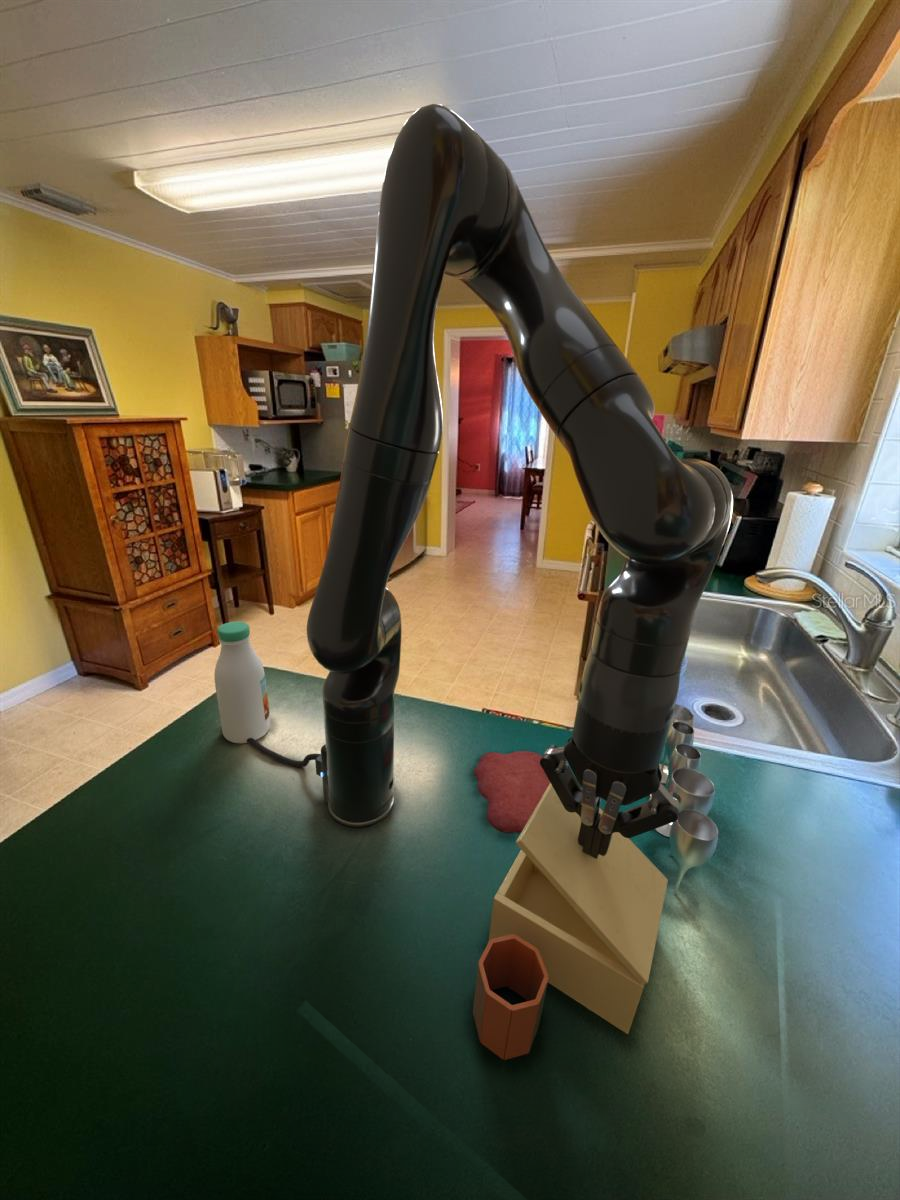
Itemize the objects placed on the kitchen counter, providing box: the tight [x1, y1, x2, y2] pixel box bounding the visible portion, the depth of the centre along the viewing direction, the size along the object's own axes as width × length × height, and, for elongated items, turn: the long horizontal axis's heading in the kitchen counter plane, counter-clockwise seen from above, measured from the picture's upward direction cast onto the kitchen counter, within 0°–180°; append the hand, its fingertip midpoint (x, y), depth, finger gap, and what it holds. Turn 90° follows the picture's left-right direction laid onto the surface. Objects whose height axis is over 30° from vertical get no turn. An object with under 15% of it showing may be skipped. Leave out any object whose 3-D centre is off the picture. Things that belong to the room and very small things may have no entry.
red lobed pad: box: [473, 750, 550, 834], centre depth 71 cm, size 18×14×2 cm
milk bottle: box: [214, 621, 271, 744], centre depth 78 cm, size 8×8×20 cm
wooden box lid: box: [515, 783, 669, 985], centre depth 47 cm, size 16×12×1 cm
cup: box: [472, 934, 549, 1061], centre depth 43 cm, size 6×6×8 cm
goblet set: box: [649, 703, 719, 896], centre depth 65 cm, size 28×6×13 cm, turn 161°
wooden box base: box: [487, 849, 645, 1035], centre depth 50 cm, size 15×12×8 cm
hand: (591, 849), depth 47 cm, fingers closed
